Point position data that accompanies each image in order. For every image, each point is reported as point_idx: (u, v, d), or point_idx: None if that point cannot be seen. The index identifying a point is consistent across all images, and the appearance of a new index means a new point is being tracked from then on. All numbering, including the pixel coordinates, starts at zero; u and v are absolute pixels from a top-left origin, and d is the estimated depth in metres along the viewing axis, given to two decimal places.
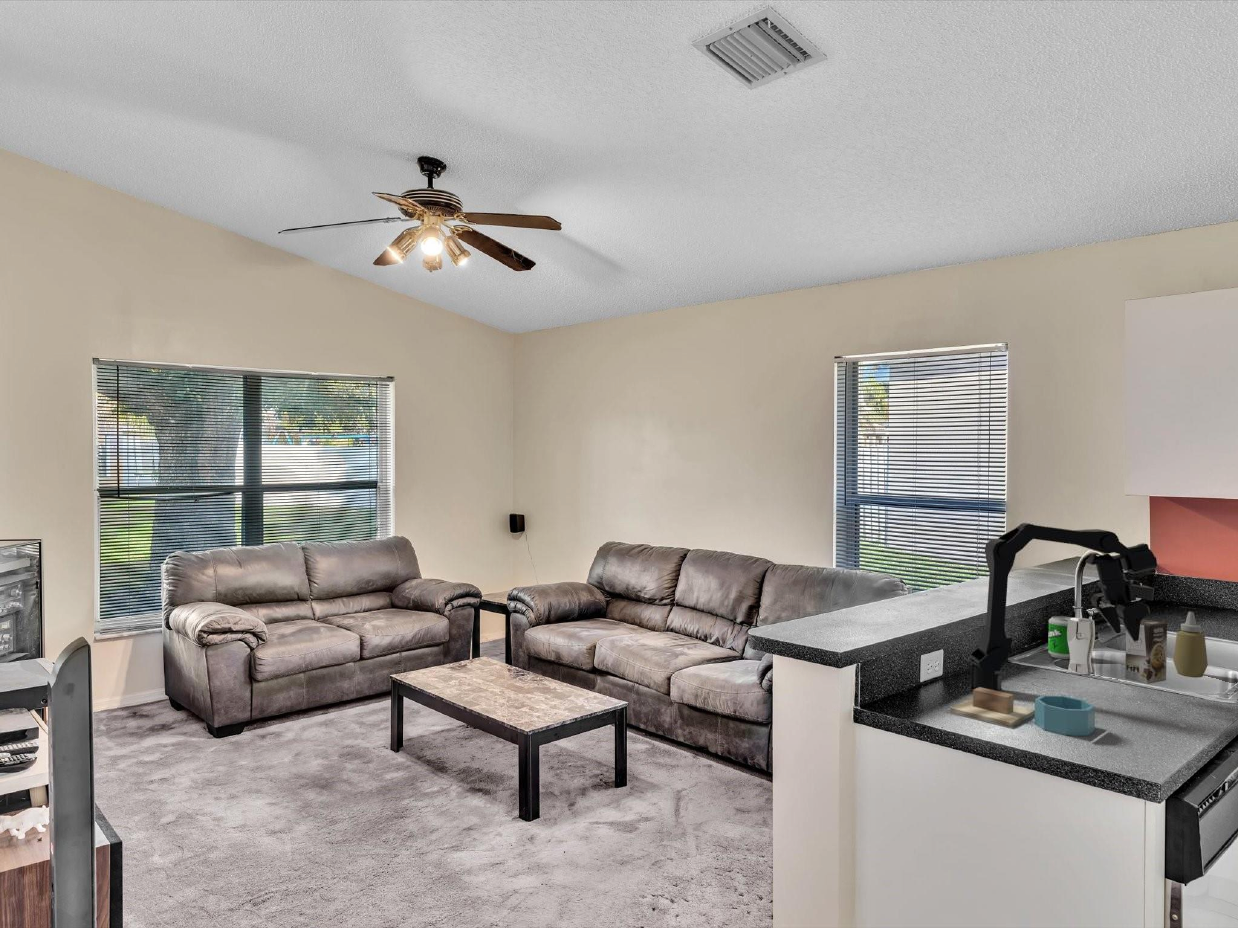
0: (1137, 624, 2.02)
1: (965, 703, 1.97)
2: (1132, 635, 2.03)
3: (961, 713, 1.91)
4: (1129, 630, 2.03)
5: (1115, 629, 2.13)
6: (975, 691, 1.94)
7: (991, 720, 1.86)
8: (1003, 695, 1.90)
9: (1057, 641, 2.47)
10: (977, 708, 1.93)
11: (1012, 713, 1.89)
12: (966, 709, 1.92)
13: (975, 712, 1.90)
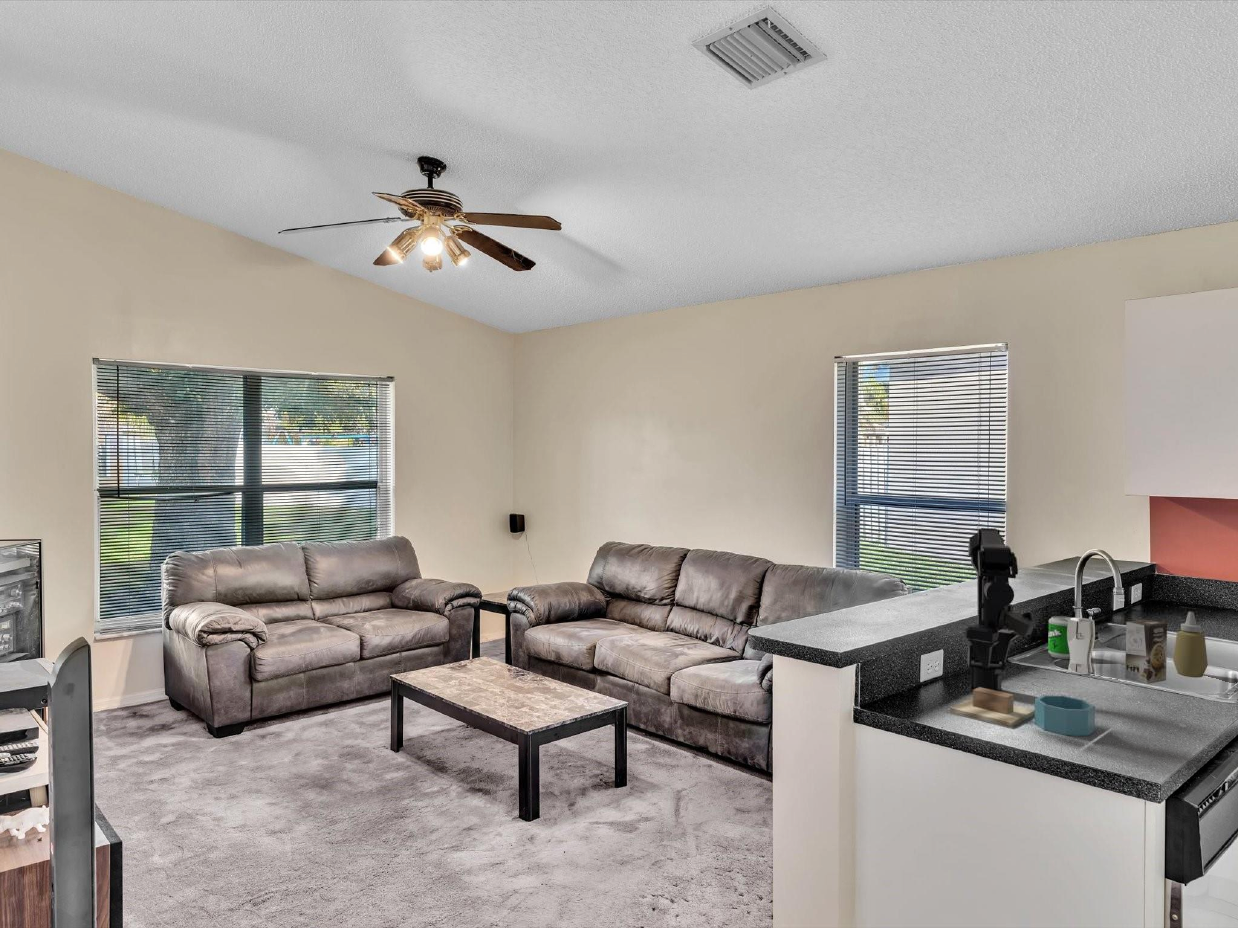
0: (986, 651, 1.88)
1: (965, 703, 1.97)
2: (981, 660, 1.89)
3: (961, 713, 1.91)
4: (978, 654, 1.89)
5: (999, 656, 1.96)
6: (975, 691, 1.94)
7: (991, 720, 1.86)
8: (1003, 695, 1.90)
9: (1057, 641, 2.47)
10: (977, 708, 1.93)
11: (1012, 713, 1.89)
12: (966, 709, 1.92)
13: (975, 712, 1.90)
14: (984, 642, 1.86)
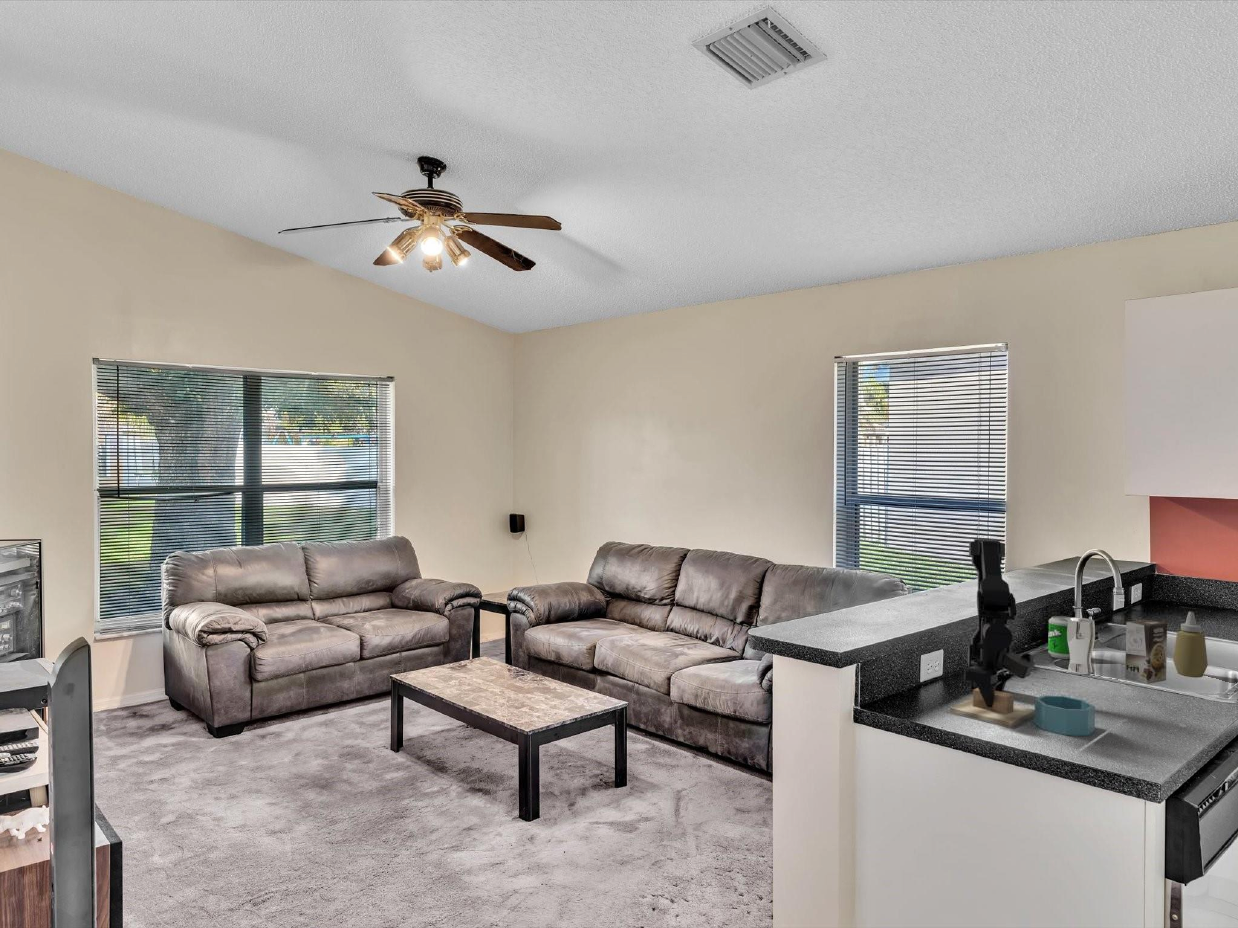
0: (990, 690, 1.90)
1: (965, 703, 1.97)
2: (984, 699, 1.91)
3: (961, 713, 1.91)
4: (981, 693, 1.91)
5: None
6: (975, 691, 1.94)
7: (991, 720, 1.86)
8: (1003, 695, 1.90)
9: (1057, 641, 2.47)
10: (977, 708, 1.93)
11: (1012, 713, 1.89)
12: (966, 709, 1.92)
13: (975, 712, 1.90)
14: None
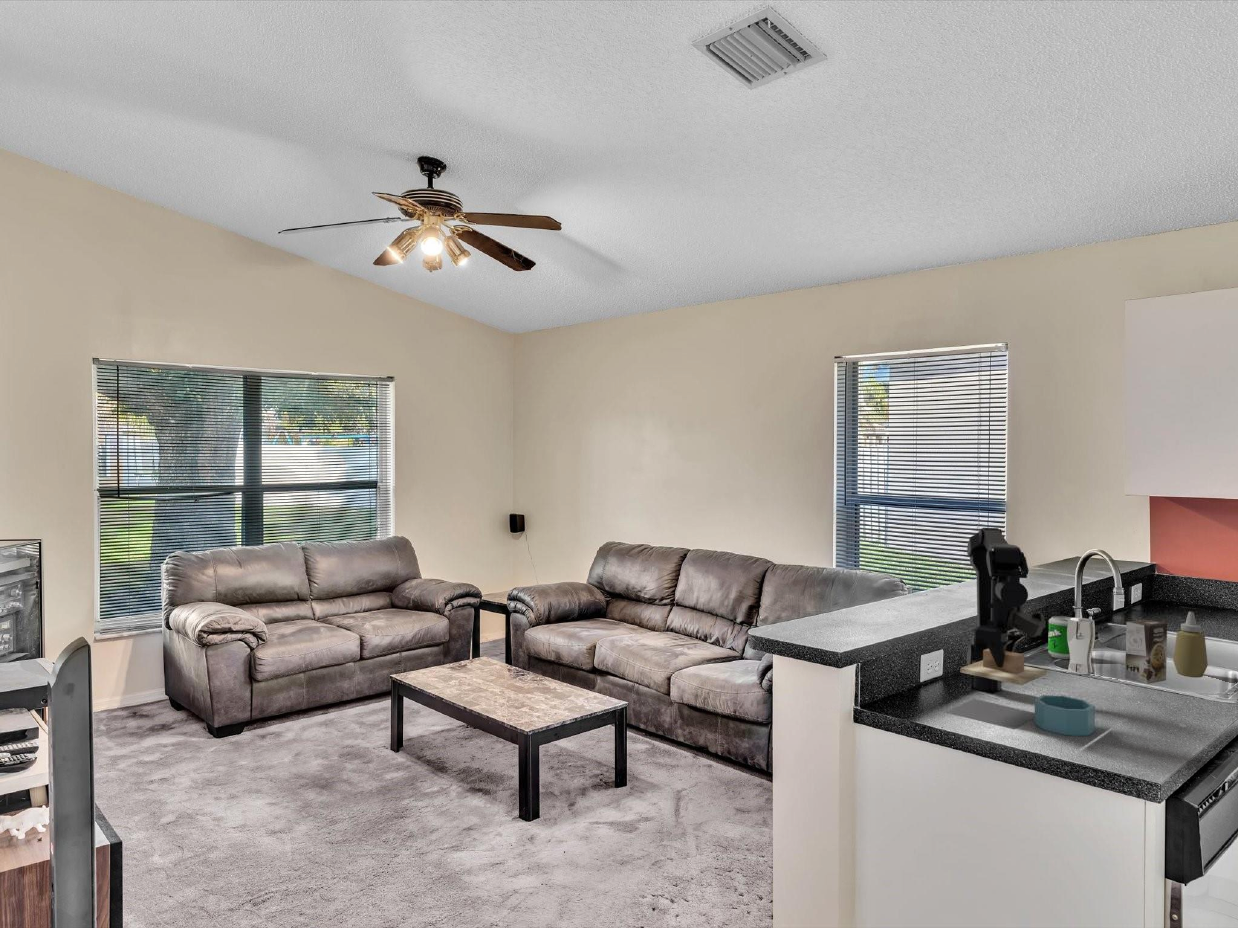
0: (1000, 649, 1.88)
1: (975, 664, 1.95)
2: (995, 659, 1.90)
3: (971, 673, 1.90)
4: (992, 652, 1.90)
5: None
6: (985, 651, 1.92)
7: (1001, 679, 1.84)
8: (1013, 655, 1.88)
9: (1057, 641, 2.47)
10: (987, 668, 1.91)
11: (1023, 673, 1.88)
12: (976, 669, 1.90)
13: (985, 672, 1.88)
14: None
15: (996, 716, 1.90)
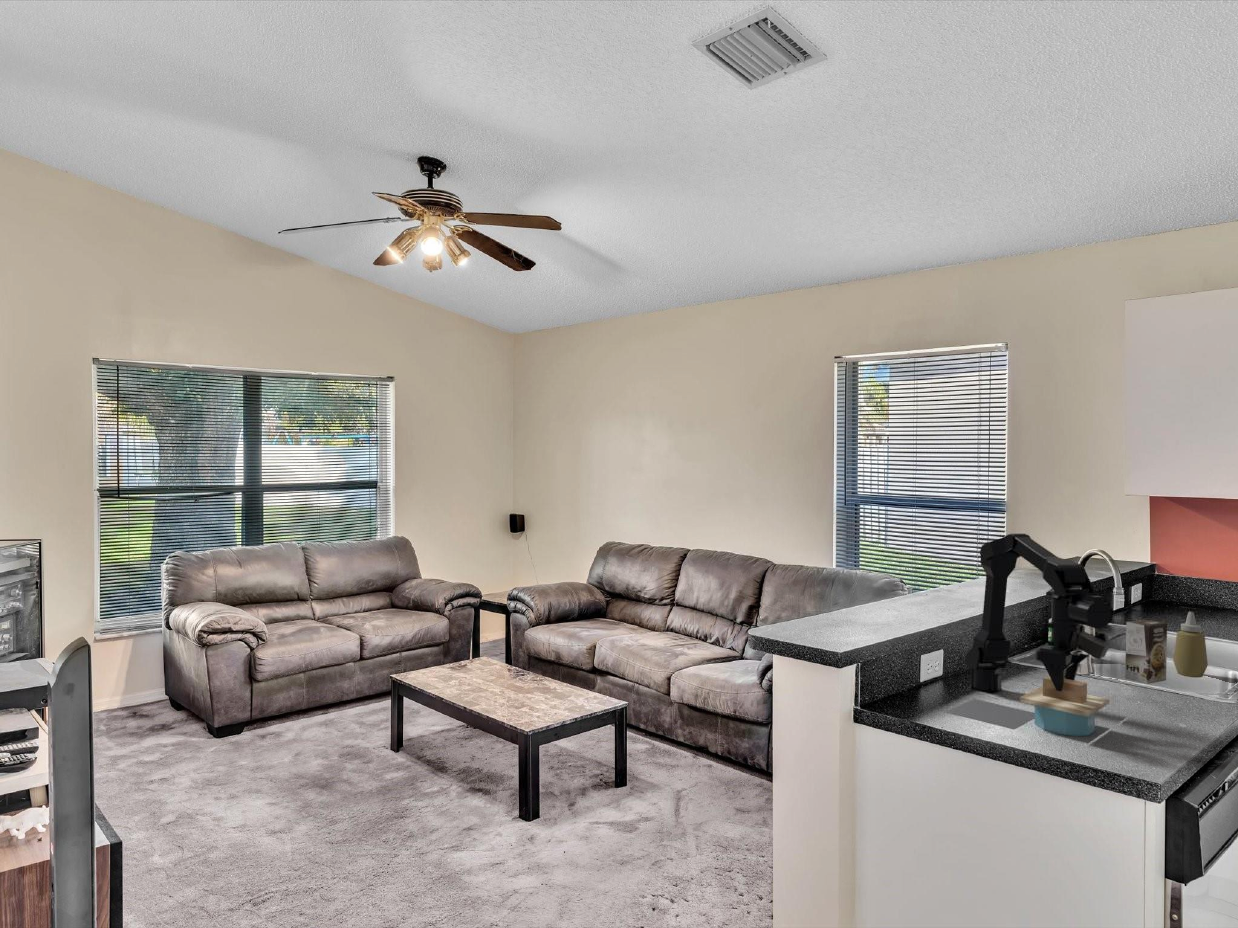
0: (1060, 673, 1.79)
1: (1034, 692, 1.87)
2: (1054, 682, 1.81)
3: (1031, 702, 1.81)
4: (1050, 676, 1.81)
5: None
6: (1045, 679, 1.84)
7: (1065, 709, 1.76)
8: (1076, 683, 1.80)
9: None
10: (1048, 697, 1.83)
11: (1086, 702, 1.79)
12: (1036, 698, 1.82)
13: (1047, 701, 1.80)
14: (1058, 664, 1.77)
15: (996, 716, 1.90)
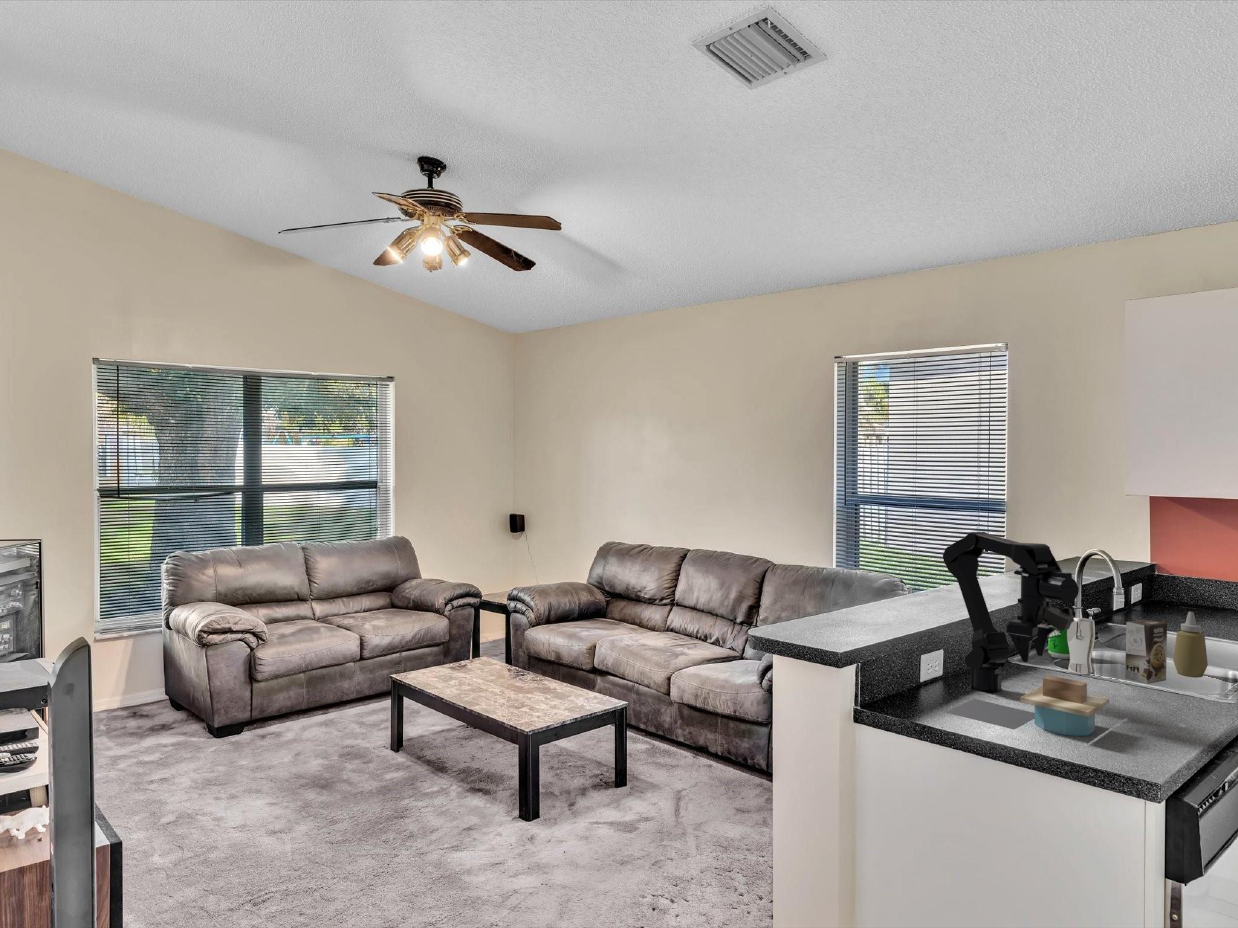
0: (1026, 645, 1.94)
1: (1034, 692, 1.87)
2: (1020, 654, 1.95)
3: (1031, 702, 1.81)
4: (1017, 648, 1.95)
5: (1037, 651, 2.02)
6: (1045, 679, 1.84)
7: (1065, 709, 1.76)
8: (1076, 683, 1.80)
9: (1057, 641, 2.47)
10: (1048, 697, 1.83)
11: (1086, 702, 1.79)
12: (1036, 698, 1.82)
13: (1047, 701, 1.80)
14: (1024, 636, 1.92)
15: (996, 716, 1.90)
